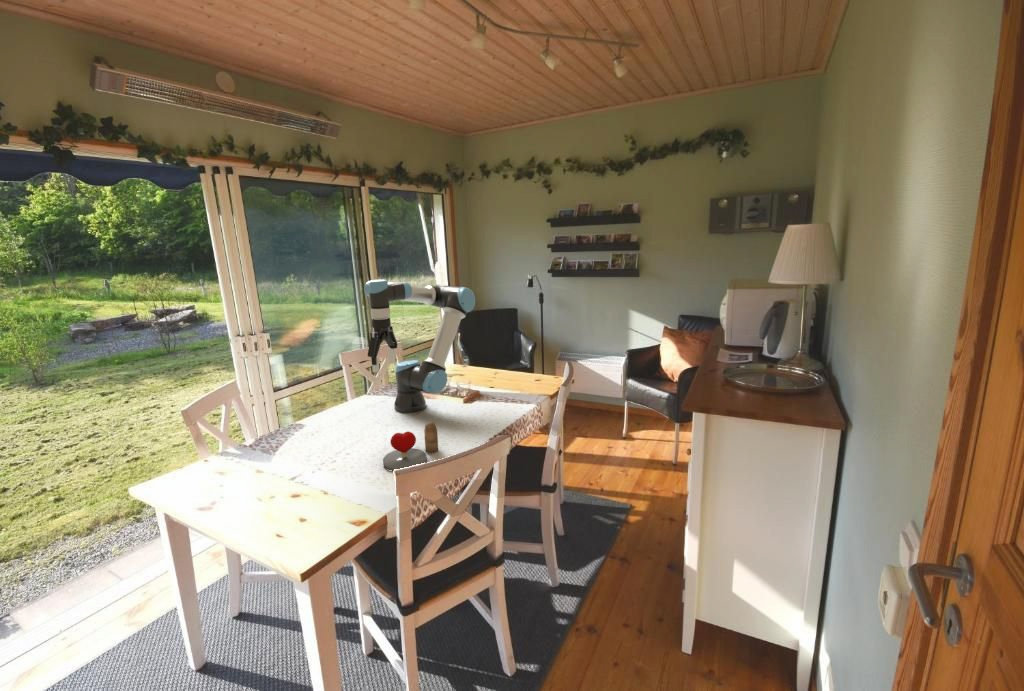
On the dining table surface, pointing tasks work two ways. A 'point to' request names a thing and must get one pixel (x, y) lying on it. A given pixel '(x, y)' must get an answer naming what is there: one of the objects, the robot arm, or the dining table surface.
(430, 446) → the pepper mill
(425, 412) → the dining table surface
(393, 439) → the red heart
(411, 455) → the disc
